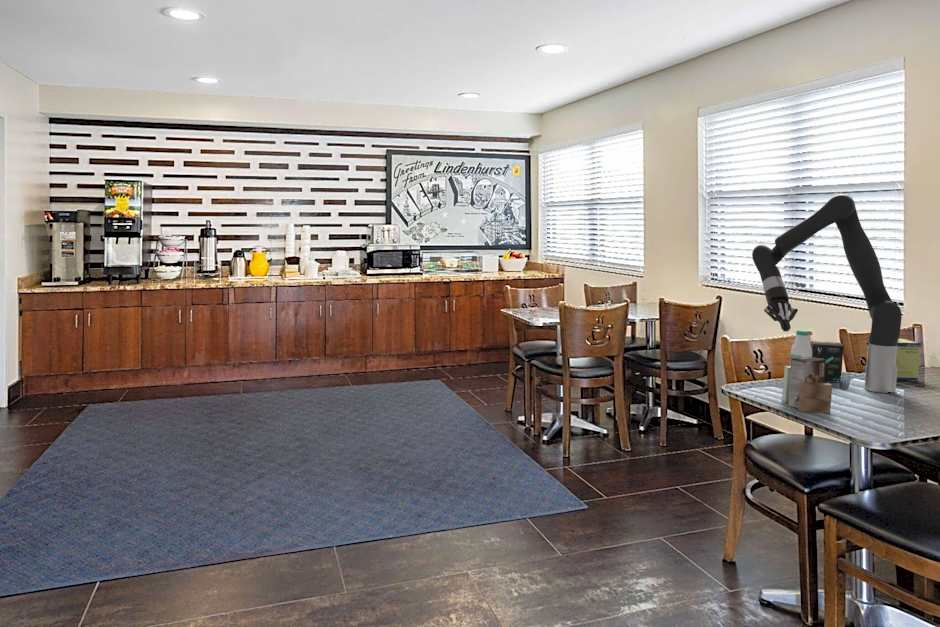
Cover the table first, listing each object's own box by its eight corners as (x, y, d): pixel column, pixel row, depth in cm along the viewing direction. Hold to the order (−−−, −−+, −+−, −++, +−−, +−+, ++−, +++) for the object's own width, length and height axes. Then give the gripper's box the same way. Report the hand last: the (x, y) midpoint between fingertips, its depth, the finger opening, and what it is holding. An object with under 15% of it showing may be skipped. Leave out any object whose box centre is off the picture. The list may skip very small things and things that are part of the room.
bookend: (805, 401, 246) (808, 366, 245) (809, 403, 243) (812, 368, 242) (782, 400, 247) (784, 366, 245) (785, 402, 244) (788, 367, 242)
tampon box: (837, 378, 287) (840, 342, 286) (841, 383, 279) (844, 345, 277) (807, 376, 291) (810, 340, 289) (810, 380, 282) (813, 343, 280)
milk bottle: (805, 380, 283) (809, 329, 280) (813, 384, 275) (817, 332, 273) (785, 379, 284) (789, 328, 281) (792, 383, 276) (796, 331, 274)
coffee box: (807, 403, 244) (811, 356, 242) (823, 407, 238) (827, 359, 236) (787, 405, 240) (790, 357, 238) (803, 409, 234) (806, 361, 232)
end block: (825, 410, 234) (828, 383, 233) (830, 412, 231) (832, 385, 230) (797, 409, 235) (799, 382, 234) (801, 411, 232) (803, 384, 231)
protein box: (918, 381, 285) (922, 342, 283) (878, 380, 285) (882, 341, 283) (902, 376, 295) (906, 338, 293) (864, 375, 295) (867, 337, 293)
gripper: (764, 283, 267) (775, 323, 258) (796, 287, 269) (809, 326, 260) (753, 295, 273) (764, 334, 264) (785, 298, 275) (797, 337, 266)
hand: (786, 330), depth 262 cm, fingers closed
